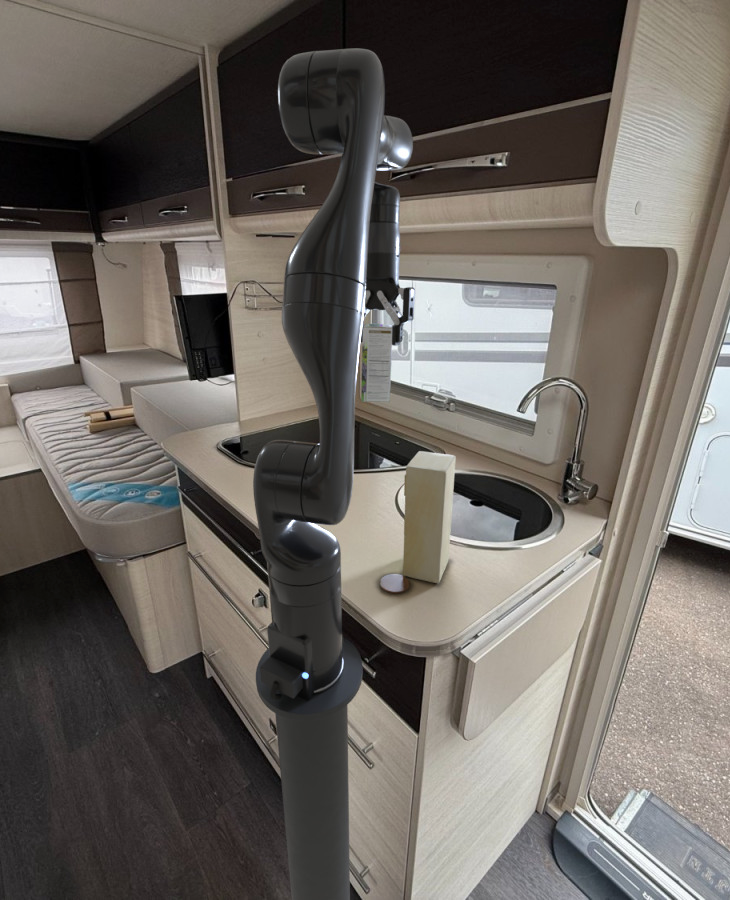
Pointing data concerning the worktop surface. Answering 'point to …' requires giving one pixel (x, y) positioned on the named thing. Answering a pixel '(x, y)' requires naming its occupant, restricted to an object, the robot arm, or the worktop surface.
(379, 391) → the syrup box
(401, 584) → the brown glossy disc
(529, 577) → the worktop surface
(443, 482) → the tall cream pillar
